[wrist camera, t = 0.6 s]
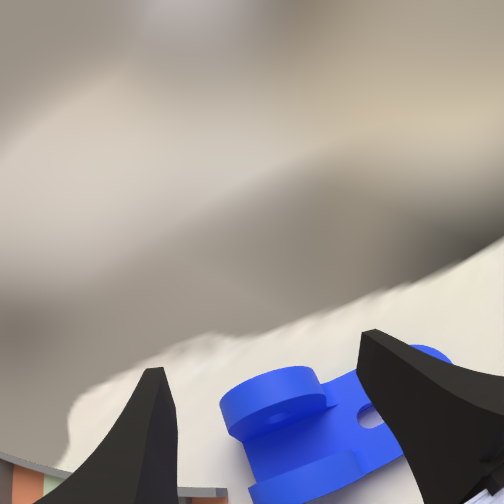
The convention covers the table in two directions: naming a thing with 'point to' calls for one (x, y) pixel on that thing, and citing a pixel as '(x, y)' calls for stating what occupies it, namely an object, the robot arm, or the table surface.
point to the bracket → (306, 433)
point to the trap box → (46, 479)
